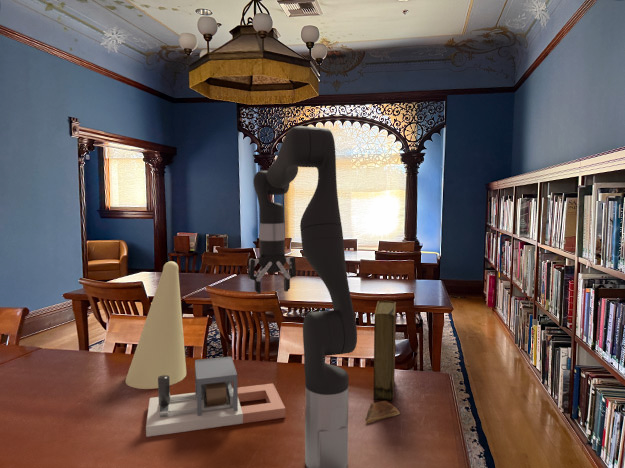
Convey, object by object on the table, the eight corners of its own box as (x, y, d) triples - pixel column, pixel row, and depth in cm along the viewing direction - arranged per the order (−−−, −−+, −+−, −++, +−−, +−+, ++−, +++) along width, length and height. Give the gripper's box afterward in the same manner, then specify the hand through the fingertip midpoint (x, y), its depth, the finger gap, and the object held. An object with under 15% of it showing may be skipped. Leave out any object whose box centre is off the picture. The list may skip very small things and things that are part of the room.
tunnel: (237, 410, 116) (237, 374, 115) (197, 416, 113) (196, 379, 112) (231, 388, 129) (231, 356, 128) (195, 393, 126) (194, 360, 125)
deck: (285, 417, 118) (285, 408, 117) (146, 436, 108) (145, 426, 108) (273, 391, 133) (272, 383, 133) (150, 406, 123) (149, 397, 123)
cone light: (171, 390, 133) (168, 273, 130) (113, 387, 136) (108, 271, 133) (202, 360, 158) (200, 260, 155) (152, 357, 160) (149, 259, 157)
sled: (234, 407, 117) (233, 376, 116) (158, 417, 112) (157, 384, 111) (230, 392, 126) (230, 364, 125) (159, 401, 120) (158, 371, 120)
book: (376, 378, 143) (378, 300, 141) (394, 379, 142) (395, 301, 140) (373, 401, 127) (374, 313, 125) (393, 403, 126) (394, 314, 124)
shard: (365, 426, 114) (365, 419, 114) (350, 412, 121) (350, 406, 121) (400, 417, 119) (400, 410, 119) (383, 404, 126) (383, 398, 126)
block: (226, 405, 119) (226, 387, 118) (206, 408, 117) (206, 389, 117) (224, 397, 123) (224, 379, 123) (205, 399, 122) (205, 382, 121)
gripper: (251, 240, 129) (252, 296, 130) (298, 238, 134) (299, 292, 135) (245, 238, 136) (246, 291, 137) (290, 236, 141) (290, 288, 142)
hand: (272, 292), depth 136 cm, fingers open, 8 cm apart
